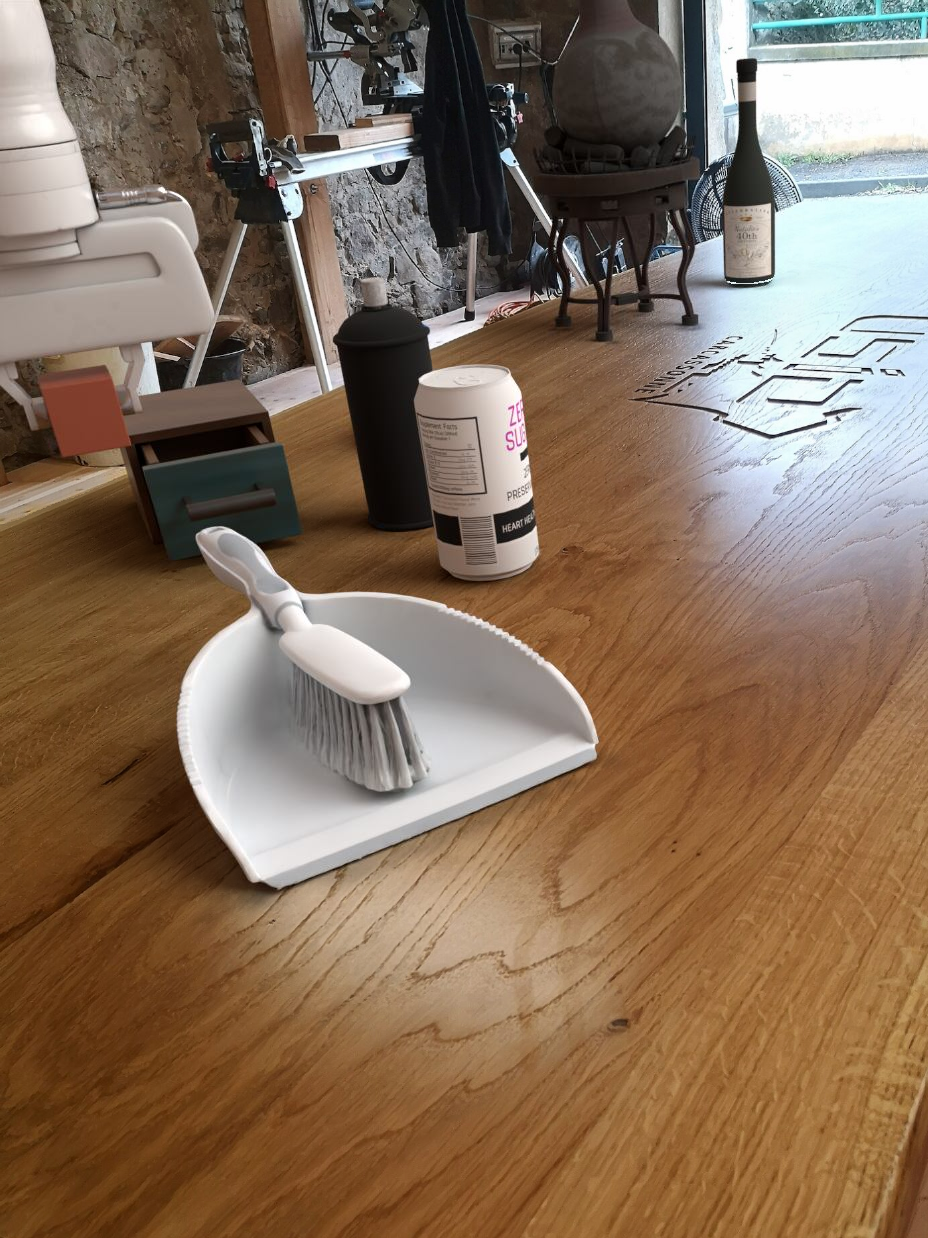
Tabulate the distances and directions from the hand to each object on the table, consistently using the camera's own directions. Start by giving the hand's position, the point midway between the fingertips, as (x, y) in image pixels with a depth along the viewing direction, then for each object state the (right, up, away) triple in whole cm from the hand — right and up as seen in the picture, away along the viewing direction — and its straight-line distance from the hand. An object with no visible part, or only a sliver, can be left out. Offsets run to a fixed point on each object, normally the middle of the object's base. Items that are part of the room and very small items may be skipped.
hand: (86, 420), depth 87 cm
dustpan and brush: (+18, -22, -6) cm, 29 cm away
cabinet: (-3, +3, +33) cm, 33 cm away
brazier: (+37, +45, +90) cm, 108 cm away
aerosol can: (+18, +1, +27) cm, 33 cm away
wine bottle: (+56, +60, +110) cm, 137 cm away
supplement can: (+26, -7, +16) cm, 31 cm away
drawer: (+2, -2, +24) cm, 24 cm away
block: (0, -1, +1) cm, 2 cm away
